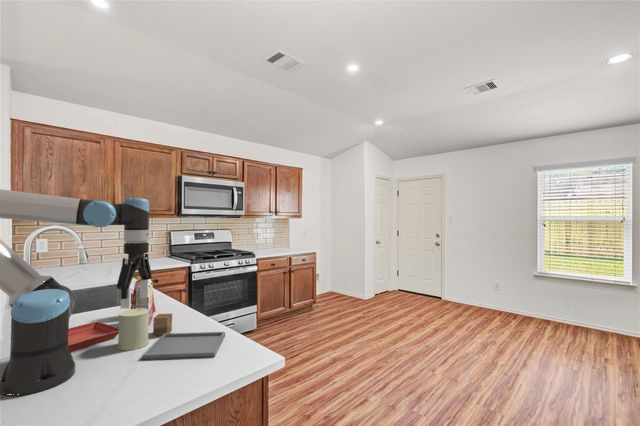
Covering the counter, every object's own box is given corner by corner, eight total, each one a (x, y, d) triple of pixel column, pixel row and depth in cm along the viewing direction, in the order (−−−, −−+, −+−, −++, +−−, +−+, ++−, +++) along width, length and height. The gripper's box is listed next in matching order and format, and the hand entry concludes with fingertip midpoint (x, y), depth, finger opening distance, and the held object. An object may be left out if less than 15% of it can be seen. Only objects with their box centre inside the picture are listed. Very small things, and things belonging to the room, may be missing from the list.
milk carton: (134, 313, 141) (135, 270, 141) (156, 312, 143) (157, 269, 144) (128, 320, 132) (129, 273, 132) (151, 318, 135) (153, 273, 135)
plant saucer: (96, 329, 122) (96, 320, 122) (122, 337, 114) (123, 328, 114) (38, 345, 106) (39, 335, 106) (64, 356, 98) (64, 346, 98)
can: (154, 340, 110) (155, 307, 111) (136, 351, 101) (137, 315, 102) (130, 339, 111) (131, 306, 112) (110, 350, 102) (112, 314, 102)
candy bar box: (139, 320, 132) (140, 282, 132) (152, 319, 134) (153, 281, 134) (134, 329, 121) (135, 288, 122) (148, 327, 123) (149, 287, 123)
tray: (214, 357, 98) (214, 352, 98) (142, 359, 95) (142, 355, 95) (225, 335, 116) (225, 331, 116) (164, 337, 113) (164, 333, 113)
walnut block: (167, 336, 115) (167, 317, 115) (153, 336, 114) (153, 317, 114) (171, 331, 120) (172, 313, 120) (158, 331, 119) (158, 313, 119)
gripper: (130, 245, 95) (129, 313, 95) (161, 239, 120) (160, 293, 120) (104, 245, 94) (103, 314, 94) (141, 239, 119) (140, 293, 119)
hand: (135, 302), depth 107 cm, fingers open, 13 cm apart
